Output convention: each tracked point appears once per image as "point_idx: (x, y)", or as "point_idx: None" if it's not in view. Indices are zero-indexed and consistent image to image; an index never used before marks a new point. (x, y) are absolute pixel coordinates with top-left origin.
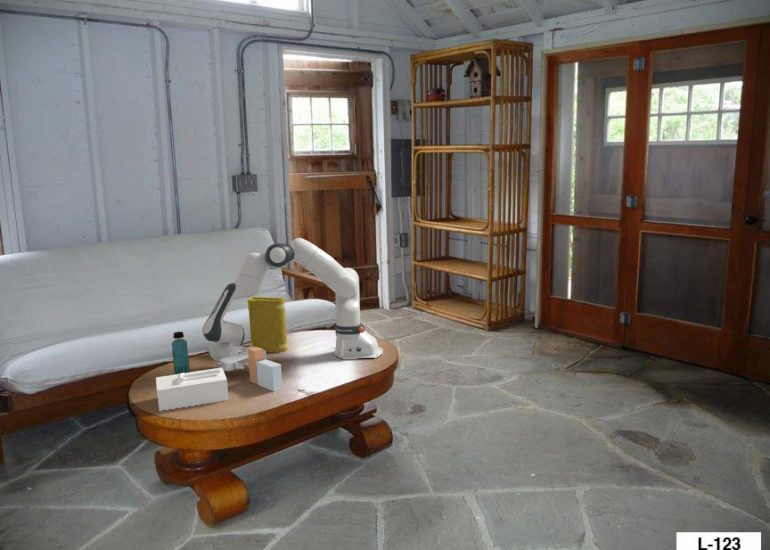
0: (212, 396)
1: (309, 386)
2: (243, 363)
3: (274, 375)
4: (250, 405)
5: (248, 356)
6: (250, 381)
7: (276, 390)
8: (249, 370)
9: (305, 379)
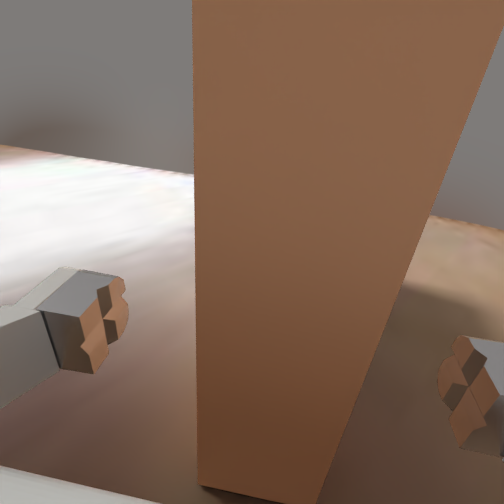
0: None
1: (186, 203)
2: (498, 391)
3: None
4: (484, 259)
5: (423, 216)
6: (313, 501)
7: None
8: (345, 423)
9: (108, 231)
